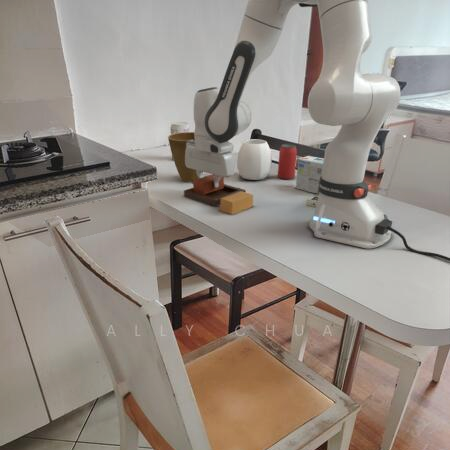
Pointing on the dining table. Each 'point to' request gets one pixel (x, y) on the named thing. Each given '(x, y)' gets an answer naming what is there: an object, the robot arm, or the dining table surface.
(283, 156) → the beer can
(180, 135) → the plant pot
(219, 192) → the dark brown square tray
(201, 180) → the reddish brown rectangular block
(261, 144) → the white faceted vase
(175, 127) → the supplement can
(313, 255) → the dining table surface
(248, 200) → the orange rectangular block
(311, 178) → the light bulb box
